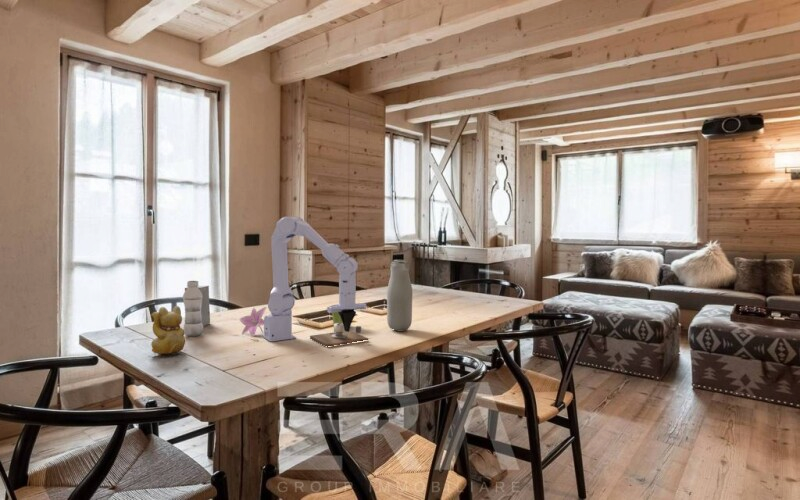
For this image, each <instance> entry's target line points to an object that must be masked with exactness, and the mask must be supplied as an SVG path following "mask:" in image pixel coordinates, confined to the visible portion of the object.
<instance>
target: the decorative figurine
mask: <svg viewBox="0 0 800 500" xmlns="http://www.w3.org/2000/svg"><path fill="white" fill-rule="evenodd" d="M150 316H151V317H152V318H153V324H152V331H153V332H152V333H153V334H154V335H155V337H156V338H153V339H152V341H151V344H150V345H151V347H152V349H151V352H153V353H154V354H158V357H160V358H165V357H173V356H178V355H179V354H178V353H179V352H181V351H182V350H184V347H185V345H186V337H185V336H184V335H185V334H184V333H185V332H184V330H183V329H184V328H182V327H181V324H182V321H183V316H182V311H181V307H180V306H178V305H176V306H174V307H173V308H172V311H169V310H168V309H167V308H166V307H165V306H161V307H160V308H159V310H158V311H154V312H152V313H151V315H150Z"/></svg>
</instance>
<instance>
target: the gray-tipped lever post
mask: <svg viewBox="0 0 800 500" xmlns="http://www.w3.org/2000/svg"><path fill="white" fill-rule="evenodd" d="M334 332H346V331H345V330H344V325H343V323H336V324H334V325H333V333H334ZM349 332H354V333H357V334H361V333H362V326H361V325H351V326H350V330H349Z"/></svg>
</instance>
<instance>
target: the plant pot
mask: <svg viewBox="0 0 800 500" xmlns="http://www.w3.org/2000/svg"><path fill="white" fill-rule="evenodd" d="M335 305H336V304H332V305H331V306H335ZM337 305H339V303H338V304H337ZM331 316H332V317H331V318H332V323H333V326H334V324H336V323H343V322H342V319H341V317H340V315H339V313H338V312H332V313H331Z"/></svg>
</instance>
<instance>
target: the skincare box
mask: <svg viewBox="0 0 800 500" xmlns="http://www.w3.org/2000/svg"><path fill="white" fill-rule="evenodd" d="M187 288H188V287H187V286H186V287H184V292H185V291H186V290H187ZM198 289H199V290H200V291H201V293H202V295H203V296H202V305H201V317H202V324H203V328H205V326H207V325H210V323H211V315H210V314H211V313H210V311H211V310H210V309H211V308H210V307H211V306H210V286H209V285H199V286H198Z"/></svg>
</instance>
